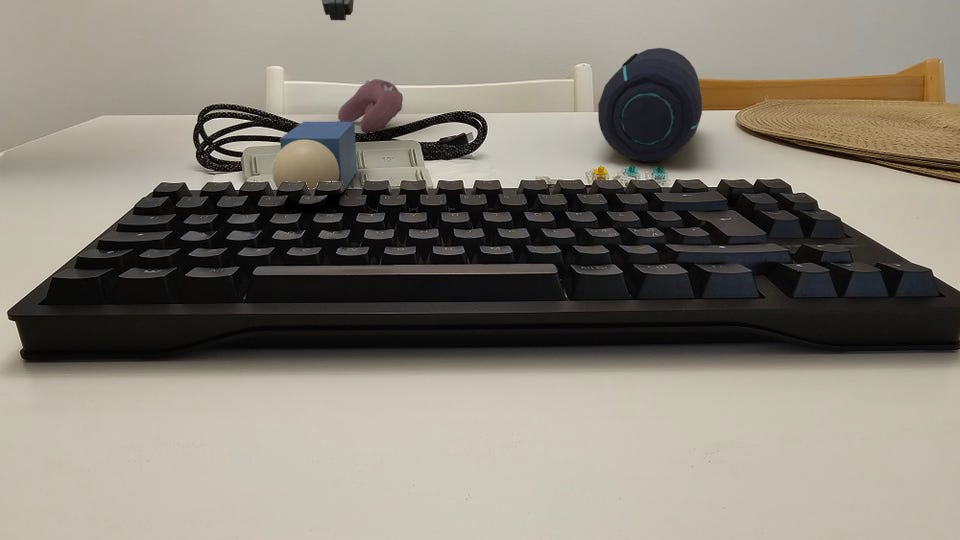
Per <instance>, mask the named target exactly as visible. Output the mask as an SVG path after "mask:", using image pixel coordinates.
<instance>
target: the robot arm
mask: <svg viewBox="0 0 960 540" xmlns="http://www.w3.org/2000/svg"><path fill="white" fill-rule="evenodd" d="M354 1H355V0H321V4H322V8H323V12H324V14H325V15H326V16H329V20H330V21H347V16H351V15H352V13H353V12H354Z"/></svg>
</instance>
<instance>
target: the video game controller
mask: <svg viewBox="0 0 960 540" xmlns="http://www.w3.org/2000/svg"><path fill="white" fill-rule="evenodd" d="M403 96H404V95H403V94H402V92H400V91H399V90H398V88H397V86H396V85H395V84H393V83H392V82H390V81H387V80H384V79H379V78H375V79H372V80H368V79H367V80H366V81H365V83H364V84H362V85H361V86H359V88H358V90H356V92H355V93H354V95H352V96H351V98H349V99H348V100H347V101H345V103H343V105H342V106H341V107H340V109H339V110H338V113H337V119H338V122H356V121H357V120H359V119H360V118H361V120H360V122H359V123H360V125H359V127H360V130H361V132H362V133H364V134H365V133H370V132H374V133H376V131H377V132H379V131H381V130H383V129H385V128H386V126H387V125H388V124H389V123H390V122H391V121H392V120H393V118H395V117H397V115H398V113H400V112H401V111H402V110H403V100H404V97H403Z"/></svg>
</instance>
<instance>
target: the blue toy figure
mask: <svg viewBox="0 0 960 540" xmlns="http://www.w3.org/2000/svg"><path fill="white" fill-rule="evenodd" d="M279 143H280V150H279V151H278V153H277V154H276V156H275V158H274V161H273V164H272V178H273V182H274V184H275V186H276V188H277V189H278V187H279V185H280V183H281V182H283V181H288V182H298V181H304V182H306V183H307V186H308V188H309V189H313V188H315V187H316V185H317V183H318V182H319V181H331V182H332V181H343V184H344V187H345V188H346V189H348V187H349V185H350V183H351V181H352V180H353V179H354V177H355V175H356V174H357V172H358V164H357V162H358V161H357V147H356V128H355V121H353V122H340V121H302V122H301V123H300V124H298V125H297V126H295V127H294V128H292V129H291V130H290V131H288V132H286V133H285V134H284V135H282V136H281V137H280V138H279Z"/></svg>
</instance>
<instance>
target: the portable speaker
mask: <svg viewBox="0 0 960 540" xmlns="http://www.w3.org/2000/svg"><path fill="white" fill-rule="evenodd" d="M702 99H703V98H702V92H701V87H700V81H699V77H698V74H697V72H696V69H695V68H694V66H693V65H692V63H691V62H690V60H689V59H688V58H686V56H684V55H683V54H681V53H679V52H678V51H676V50H673V49H670V48H665V47H664V48H663V47H654V48H648V49H645V50H643V51H640V52H639V53H636V52H635V53H634V54H633V55H631V56H630V57H629V58H628V59H627V60H625V62H623V63H622V64H621V67H620V68H619V69H618V70H617V71H616V72H615V73H614V74H613V75H612V76H611V77H610V78H609V80H608V81H607V82H606V83H605V85H604V88H603V90H602V93H601V96H600V99H599V102H598V105H597V109H598V110H597V112H598V113H597V114H598V118H597V119H598V125H599V129H600V131H601V134H602V136H603V139H605V141H606V143H607V144H608V145H609V146H610V147H611V148H612V149H613V150H615V151H616V152H617V153H618V154H620V155H621V156H623V157H626V158H629V159H632V160H634V161H638V162H647V163H648V162H652V163H654V162H658V161H663V160H665V159H668V158H670V157H673V156H674V155H676V154H677V153H679V152H680V151H681V150H682V149H683V148H684V147H685V146H686V145H688V144H689V143H690V142H691V140H692V139H693V137H694V136H695V134H696V133H697V130H698V127H699V125H700V121H701V117H702V114H703V100H702Z"/></svg>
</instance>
